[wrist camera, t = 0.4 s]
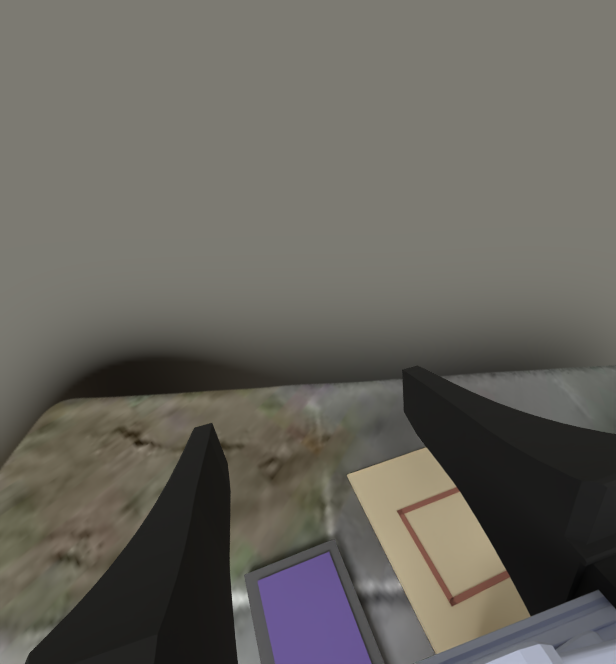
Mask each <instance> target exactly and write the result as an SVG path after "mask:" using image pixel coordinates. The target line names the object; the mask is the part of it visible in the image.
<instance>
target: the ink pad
mask: <svg viewBox="0 0 616 664" xmlns="http://www.w3.org/2000/svg"><path fill="white" fill-rule="evenodd" d="M244 577H245V582H246V587H247V592H248V598H249V603H250V608H251V613H252V619H253V624H254V629H255V634H256V640H257V645H258V650H259V655H260V661H261V664H385V663H384V661H383V658H382V656H381V653H380V651H379V648H378V646H377V643H376V641H375V638H374V636H373V633H372V631H371V628H370V626H369V623H368V621H367V619H366V616H365V614H364V611H363V609H362V606H361V604H360V601H359V599H358V596H357V594H356V591H355V589H354V586H353V584H352V581H351V579H350V576H349V574H348V571H347V569H346V566H345V564H344V562H343V559H342V557H341V554H340V552H339V549H338V547H337V544H336V542H335V539H333V540H330V541H328V542H325V543H323V544H320V545H318V546H315V547H313V548H310V549H308V550H305V551H303V552H300V553H298V554H295V555H293V556H290V557H288V558H285V559H283V560H280V561H278V562H275V563H273V564H270V565H268V566H265V567H263V568H260V569H258V570H255V571H253V572H250V573H248V574H245V575H244Z"/></svg>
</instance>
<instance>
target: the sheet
mask: <svg viewBox="0 0 616 664" xmlns="http://www.w3.org/2000/svg"><path fill="white" fill-rule="evenodd" d="M347 477H348V479H349V481H350V483H351V485H352V487H353V489H354V491H355V493H356V495H357V497H358V499H359V501H360V503H361V505H362V507H363V509H364V511H365V513H366V515H367V517H368V519H369V521H370V523H371V525H372V527H373V529H374V531H375V533H376V535H377V537H378V539H379V541H380V543H381V545H382V547H383V549H384V551H385V553H386V555H387V557H388V559H389V561H390V563H391V565H392V567H393V569H394V571H395V573H396V575H397V577H398V579H399V581H400V583H401V585H402V587H403V589H404V591H405V593H406V595H407V597H408V599H409V601H410V604H411V606H412V608H413V610H414V612H415V614H416V616H417V618H418V620H419V622H420V624H421V626H422V628H423V630H424V632H425V634H426V636H427V638H428V640H429V642H430V644H431V646H432V648H433V650H434V652H435V654H438V653H441V652H443V651H446V650H448V649H451V648H453V647H456V646H458V645H461V644H463V643H466V642H468V641H471V640H473V639H476V638H478V637H481V636H483V635H486V634H488V633H491V632H493V631H496V630H498V629H501V628H503V627H506V626H508V625H511V624H513V623H516V622H518V621H521V620H524V619H526V618H529V617H531V616H530V614H529V612H528V610H527V608H526V606H525V604H524V603H523V601H522V599H521V597H520V595H519V593H518V591H517V589H516V587H515V585H514V584H513V582H512V580H511V578H510V576H509V574H508V572H507V571H506V569H505V567H504V565H503V564H502V562H501V560H500V558H499V556H498V555H497V553H496V551H495V549H494V547H493V546H492V544H491V542H490V540H489V539H488V537H487V535H486V534H485V532H484V530H483V529H482V527H481V525H480V523H479V522H478V520H477V518H476V517H475V515H474V514H473V512H472V510H471V509H470V507H469V505H468V504H467V502H466V501H465V499H464V497H463V496H462V494H461V493H460V491H459V490H458V488H457V487H456V485H455V484H454V483H453V481H452V480H451V479H450V477H449V476H448V475H447V473H446V472H445V471H444V469H443V468H442V467H441V466H440V464H439V463H438V462H437V460H436V459H435V458H434V456H433V455H432V454H431V452H430V451H429V450H428V448H427V447H426V448H423V449H420V450H417V451H414V452H411V453H408V454H405V455H403V456H400V457H397V458H394V459H391V460H388V461H385V462H382V463H379V464H377V465H374V466H371V467H368V468H365V469H362V470H359V471H356V472H353V473H350V474H348V475H347Z"/></svg>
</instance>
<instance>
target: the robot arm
mask: <svg viewBox="0 0 616 664" xmlns="http://www.w3.org/2000/svg"><path fill="white" fill-rule="evenodd" d="M402 373H403V400H404V413H405V414H406V416H407V418H408V420H409V422H410V423H411V425H412V427H413V428H414V430H415V432H416V434H417V435H418V436H419V438H420V439H421V440H422V442H423V443H424V444H425V446H426V447H427V448H428V450H429V451H430V452H431V454H432V455H433V456H434V458H435V459H436V460H437V462H438V463H439V464H440V466H441V467H442V468H443V469H444V471H445V472H446V473H447V475H448V476H449V477H450V479H451V480H452V481H453V483H454V484H455V485H456V487H457V488H458V490H459V491H460V493H461V494H462V496H463V497H464V499H465V501H466V502H467V504H468V505H469V507H470V509H471V510H472V512H473V514H474V515H475V517H476V518H477V520H478V522H479V523H480V525H481V527H482V529H483V530H484V532H485V534H486V535H487V537H488V539H489V540H490V542H491V544H492V546H493V547H494V549H495V551H496V553H497V555H498V556H499V558H500V560H501V562H502V564H503V565H504V567H505V569H506V571H507V572H508V574H509V576H510V578H511V580H512V582H513V584H514V585H515V587H516V589H517V591H518V593H519V595H520V597H521V599H522V601H523V603H524V604H525V606H526V608H527V610H528V612H529V614H530V616H531V617H529V618H526V619H524V620H521V621H518V622H516V623H513V624H511V625H508V626H506V627H503V628H501V629H498V630H496V631H493V632H491V633H488V634H486V635H483V636H481V637H478V638H476V639H473V640H471V641H468V642H466V643H463V644H461V645H458V646H456V647H453V648H451V649H448V650H446V651H443V652H441V653H438V654H436V655H433V656H431V657H428V658H426V659H423V660H421V661H418V662H416V663H413V664H616V434H611V433H605V432H600V431H595V430H590V429H585V428H580V427H576V426H572V425H568V424H563V423H560V422H556V421H552V420H548V419H545V418H541V417H538V416H534V415H531V414H528V413H525V412H522V411H519V410H516V409H513V408H510V407H507V406H505V405H502V404H499V403H497V402H494V401H492V400H490V399H487V398H485V397H482V396H480V395H478V394H475V393H473V392H471V391H469V390H466V389H464V388H462V387H460V386H458V385H456V384H454V383H452V382H450V381H448V380H446V379H444V378H442V377H440V376H438V375H436V374H434V373H432V372H430V371H428V370H426V369H423V368H421V367H419V366H415V367H411V368H407V369H404V370H402ZM230 492H231V491H230V480H229V471H228V463H227V460H226V458H225V455H224V453H223V450H222V447H221V445H220V442H219V439H218V437H217V434H216V432H215V429H214V426H213V424H212V423H210V424H206V425H203V426H199V427H195V428H194V430H193V431H192V433H191V436H190V438H189V440H188V442H187V444H186V447H185V449H184V451H183V453H182V455H181V457H180V459H179V461H178V463H177V465H176V467H175V469H174V471H173V473H172V475H171V477H170V479H169V480H168V482H167V484H166V486H165V488H164V489H163V491H162V493H161V494H160V496H159V498H158V500H157V501H156V503H155V505H154V506H153V508H152V509H151V511H150V513H149V514H148V516H147V517H146V519H145V520H144V522H143V523H142V525H141V526H140V528H139V529H138V531H137V532H136V533H135V535H134V536H133V538H132V539H131V540H130V542H129V543H128V544H127V546H126V547H125V548H124V550H123V551H122V552H121V553H120V555H119V556H118V557H117V559H116V560H115V561H114V562H113V564H112V565H111V566H110V568H109V569H108V570H107V571H106V572H105V574H104V575H103V576H102V577H101V578H100V579H99V581H98V582H97V583H96V584H95V585H94V586H93V588H92V589H91V590H90V591H89V592H88V593H87V594H86V595H85V596H84V598H83V599H82V600H81V601H80V602H79V603H78V604H77V605H76V606H75V607H74V608H73V610H72V611H71V612H70V613H69V614H68V615H67V616H66V617H65V618H64V619H63V620H62V621H61V622H60V623H59V624H58V625H57V626H56V627H55V628H54V629H53V630H52V631H51V632H50V633H49V634H48V635H47V636H46V637H45V638H44V639H43V640H42V641H41V642H40V643H39V644H38V645H37V646H36V647H35V648H34V649H33V650H32V651H31V652H30V653H29V655H28V657H27V660H26V662H25V664H238V660H237V650H236V640H235V629H234V618H233V606H232V594H231V580H230V557H229V555H230Z"/></svg>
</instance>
